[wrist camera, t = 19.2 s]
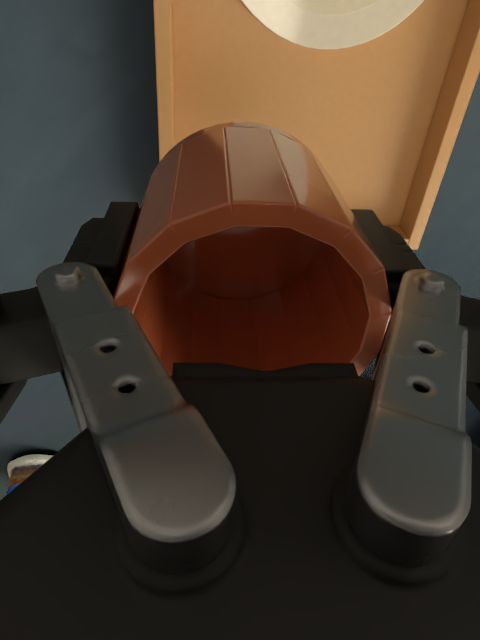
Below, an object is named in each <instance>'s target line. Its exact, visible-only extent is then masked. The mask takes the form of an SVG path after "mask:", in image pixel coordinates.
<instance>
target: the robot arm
mask: <svg viewBox="0 0 480 640" xmlns="http://www.w3.org/2000/svg"><path fill="white" fill-rule="evenodd" d="M350 210H351V211H352V213H353V215H354V216H355V218H356V220H357V221H358V223H359V225H360V227H361V228H362V230H363V232H364V233H365V235H366V237H367V238H368V240H369V242H370V243H371V245H372V247H373V249H374V250H375V252H376V254H377V255H378V257H379V259H380V260H381V262H382V264H383V267H384V268H385V272H386V277H387V283H388V289H389V294H390V300H391V306H392V315H391V318H390V321H389V324H388V327H387V330H386V333H385V336H384V339H383V342H382V345H381V349H380V352H379V353H378V355H377V357H376V361H375V364H374V368H373V372H372V375H371V379H367V378H364V377H359V376H358V373H357V370H356V368H355V365H354V363H308V364H303V365H297V366H292V367H287V368H282V369H277V370H272V371H260V370H255V369H250V368H244V367H239V366H234V365H228V364H223V363H173V370H172V376H170V375H169V373H168V372H167V370H166V368H165V367H164V365H163V363H162V362H161V360H160V358H159V357H158V355H157V353H156V352H155V350H154V348H153V347H152V345H151V343H150V342H149V340H148V338H147V337H146V335H145V333H144V332H143V330H142V328H141V327H140V325H139V323H138V321H137V320H136V318H135V316H134V315H133V313H132V311H131V310H130V308H129V307H128V306H127V305H123V306H120V307H118V305H117V303H116V302H115V300H114V298H113V294H114V291H115V287H116V284H117V281H118V278H119V274H120V271H121V268H122V264H123V261H124V258H125V254H126V251H127V248H128V244H129V241H130V238H131V234H132V231H133V228H134V224H135V221H136V218H137V214H138V211H139V205H138V203H137V202H111V203H110V205H109V208H108V210H107V212H106V215H105V217H104V218H92V219H91V220H89V221H88V222H86V223H85V224H83V225H82V226H81V228H80V230H79V232H78V234H77V237H76V238H75V240H74V242H73V245H72V246H71V248H70V250H69V252H68V254H67V256H66V258H65V260H64V262H63V263H61V264H57V265H54V266H51V267H49V268H47V269H45V270H44V271H42V272H41V273H40V274H39V275H38V277H37V279H36V284H37V287H34V288H31V289H26V290H21V291H15V292H9V293H3V294H0V424H1V422H2V420H3V419H4V417H5V416H6V414H7V413H8V411H9V410H10V408H11V406H12V405H13V403H14V402H15V400H16V399H17V397H18V395H19V394H20V392H21V391H22V389H23V388H24V386H25V384H26V382H27V379H29V378H33V377H38V376H42V375H47V374H51V373H56V372H60V374H61V377H62V380H63V383H64V386H65V389H66V392H67V395H68V397H69V400H70V403H71V406H72V409H73V412H74V415H75V418H76V421H77V424H78V427H79V431H80V434H79V435H77V436H76V437H75V438H74V439H73V440H71V441H70V442H69V443H68V444H67V445H66V446H64V447H63V448H62V449H61V450H60V451H58V452H57V453H56V454H55V455H54V456H53V457H51V458H50V459H49V460H48V461H47V462H45V463H44V464H43V465H42V466H41V467H39V468H38V469H37V470H36V471H35V472H34V473H32V474H31V475H30V476H29V477H28V478H26V479H25V480H24V481H23V482H22V483H21V484H19V485H18V486H17V487H16V488H15V489H13V490H12V491H11V492H10V493H9V494H7V495H6V496H5V497H4V498H3V499H2V500H0V640H480V448H479V447H477V446H476V445H474V444H473V443H472V442H471V438H470V436H469V435H467V434H466V431H465V414H466V395H467V396H468V398H469V399H470V400H471V401H472V403H473V404H474V405H475V407H476V408H477V409H478V410H479V412H480V300H479V299H474V298H469V297H464V296H461V288H460V286H459V285H458V283H457V282H456V281H455V280H453V279H452V278H450V277H449V276H447V275H445V274H442V273H440V272H437V271H433V270H428V269H425V267H424V266H423V265H422V263H421V262H420V261H419V259H418V258H417V256H416V255H415V254H414V253H412V249H411V248H410V247H409V245H407V243H406V241H405V240H404V238H403V237H402V236H401V234H399V233H398V232H396V231H395V230H393V229H392V228H390V227H389V226H383V225H382V223H381V222H380V220H379V219H378V217H377V216H376V214H375V213H374V211H373V210H367V209H350Z"/></svg>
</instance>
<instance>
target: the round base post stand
mask: <svg viewBox="0 0 480 640" xmlns="http://www.w3.org/2000/svg"><path fill="white" fill-rule="evenodd" d="M423 1H424V0H241V2H242V3H243V4H244V5H245V7H246V8H247V9H248V10H249V12H250V13H251V14H252V15H253V16H254V17H255V18H256V19H257V20H258V21H259V22H260V23H261V24H263V25H264V26H265V27H266V28H268V29H269V30H270V31H272V32H273V33H275V34H276V35H278V36H279V37H281V38H283V39H285V40H287V41H289V42H291V43H294V44H297V45H300V46H304V47H307V48H314V49H320V50H331V49H342V48H348V47H353V46H356V45H359V44H363V43H366V42H368V41H370V40H372V39H374V38H377V37H379V36H381V35H383V34H384V33H386V32H387V31H389V30H391V29H392V28H394V27H395V26H397V25H398V24H399V23H400V22H402V21H403V20H404V19H405V18H407V17H408V16H409V15H410V14H411V13H412V12H413V11H414V10H415V9H416V8H417V7H418V6H419V5H420V4H421V3H422V2H423Z"/></svg>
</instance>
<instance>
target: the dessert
mask: <svg viewBox="0 0 480 640" xmlns="http://www.w3.org/2000/svg"><path fill="white" fill-rule="evenodd" d="M53 456H54V455H52V456H51V455H41V454H35V455H34V454H32V455H26V456H23V457H19V458H17V459H15V460H12V461H11V462H9V463H8V466H7V472H8V475H9V478H10V480H9V484H8V491H7V494H9V493H10V492H11V491H12V490H13V489H15V488H16V487H17V486H18V485H19V484H21V483H22V482H23V481H24V480H25V479H26V478H28V477H29V476H30V475H31V474H32V473H34V472H35V471H36V470H37V469H38V468H39V467H41V466H42V465H43V464H44V463H45V462H47V461H48V460H49V459H50V458H51V457H53ZM6 486H7V485H6ZM8 492H9V493H8Z"/></svg>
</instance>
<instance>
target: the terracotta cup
mask: <svg viewBox="0 0 480 640" xmlns="http://www.w3.org/2000/svg"><path fill="white" fill-rule="evenodd" d="M113 298H114V300H115V302H116V303H117V305H118V307H120V306H123V305H127V306H128V307H129V308H130V310H131V311H132V313H133V315H134V316H135V318H136V320H137V321H138V323H139V325H140V327H141V328H142V330H143V332H144V333H145V335H146V337H147V338H148V340H149V342H150V343H151V345H152V347H153V348H154V350H155V352H156V353H157V355H158V357H159V358H160V360H161V362H162V363H163V365H164V367H165V368H166V370H167V372H168V373H169V375H170V376H172V370H173V363H223V364H228V365H234V366H239V367H244V368H250V369H255V370H260V371H272V370H277V369H282V368H287V367H292V366H297V365H303V364H308V363H354V365H355V368H356V370H357V373H358V376H360V375H361V374H362V372H363V371H364V370H365V369H366V368H367V367H368V366H369V364H370V363H371V362H372V361H373V360H374V359H375V357H376V356H377V355H378V353H379V352H380V349H381V345H382V342H383V339H384V336H385V333H386V330H387V327H388V324H389V321H390V318H391V315H392V306H391V300H390V294H389V289H388V283H387V277H386V272H385V268H384V267H383V264H382V262H381V260H380V259H379V257H378V255H377V254H376V252H375V250H374V249H373V247H372V245H371V243H370V242H369V240H368V238H367V237H366V235H365V233H364V232H363V230H362V228H361V227H360V225H359V223H358V221H357V220H356V218H355V216H354V215H353V213H352V211H351V210H350V208H349V206H348V204H347V203H346V201H345V199H344V198H343V196H342V194H341V193H340V191H339V189H338V188H337V186H336V184H335V182H334V181H333V179H332V178H331V176H330V175H329V174H328V172H327V171H326V170H325V169H324V167H323V165H322V164H321V163H320V161H319V160H318V158H317V157H316V156H315V155H314V153H313V152H312V151H311V150H310V149H309V148H308V147H307V146H306V145H304V144H303V143H302V142H301V141H299V140H298V139H297V138H295V137H293V136H292V135H290V134H288V133H287V132H284V131H282V130H280V129H277V128H275V127H272V126H268V125H264V124H260V123H253V122H228V123H222V124H217V125H213V126H210V127H207V128H204V129H201V130H199V131H197V132H195V133H193V134H191V135H189V136H188V137H186V138H185V139H183V140H182V141H180V142H179V143H177V144H176V145H175V146H174V147H173V148H172V149H171V150H169V151H168V152H167V154H166V155H165V156H164V157H163V158H162V159H161V161H160V162H159V163H158V165H157V167H156V168H155V170H154V171H153V173H152V175H151V177H150V180H149V182H148V184H147V187H146V191H145V194H144V197H143V199H142V202H141V205H140V208H139V211H138V214H137V218H136V221H135V224H134V228H133V231H132V234H131V238H130V241H129V244H128V248H127V251H126V254H125V258H124V261H123V264H122V268H121V271H120V274H119V278H118V281H117V284H116V287H115V291H114V294H113Z"/></svg>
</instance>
